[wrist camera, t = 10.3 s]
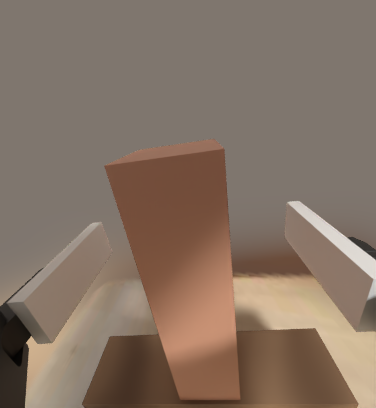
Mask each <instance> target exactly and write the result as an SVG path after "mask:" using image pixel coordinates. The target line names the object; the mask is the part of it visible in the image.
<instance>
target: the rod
mask: <svg viewBox="0 0 376 408" xmlns="http://www.w3.org/2000/svg"><path fill="white" fill-rule="evenodd" d="M105 169H106V172H107V176H108V179H109V182H110V185H111V188H112V191H113V194H114V197H115V200H116V203H117V206H118V210H119V212H120V216H121V219H122V221H123V225H124V228H125V231H126V234H127V237H128V240H129V243H130V247H131V250H132V253H133V256H134V259H135V262H136V265H137V268H138V271H139V274H140V277H141V281H142V284H143V287H144V290H145V293H146V296H147V299H148V302H149V305H150V308H151V311H152V315H153V318H154V321H155V324H156V327H157V330H158V333H159V336H160V339H161V342H162V345H163V348H164V352H165V355H166V358H167V361H168V364H169V367H170V370H171V373H172V376H173V379H174V382H175V385H176V389H177V392H178V395H179V398H180V400H240V385H239V370H238V354H237V339H236V323H235V308H234V292H233V277H232V262H231V246H230V230H229V215H228V199H227V183H226V169H225V154H224V148H223V147H222V146H221V145H220V144H219V143H218V142H217V141H216V140H215V139H210V140H203V141H196V142H189V143H183V144H176V145H169V146H162V147H156V148H149V149H142V150H138V151H136V152H133V153H131V154H129V155H127V156H125V157H122V158H120V159H118V160H116V161H114V162H112V163H109V164H107V165H105Z"/></svg>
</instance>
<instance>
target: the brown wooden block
mask: <svg viewBox="0 0 376 408" xmlns="http://www.w3.org/2000/svg"><path fill="white" fill-rule="evenodd" d="M236 339H237V354H238V370H239V385H240V400H180V398H179V395H178V392H177V389H176V385H175V382H174V379H173V376H172V373H171V370H170V367H169V364H168V361H167V358H166V355H165V352H164V348H163V345H162V342H161V339H160V336H159V335H137V336H112V337H110V338H109V340H108V342H107V345H106V347H105V350H104V352H103V355H102V357H101V359H100V362H99V364H98V367H97V369H96V372H95V374H94V376H93V379H92V381H91V384H90V386H89V388H88V391H87V393H86V396H85V398H84V401H83V403H82V405H83V406H84V407H85V408H357V406H358V402H357V401H356V399H355V397H354V395H353V394H352V392H351V390H350V388H349V387H348V385H347V383H346V381H345V380H344V378H343V376H342V374H341V373H340V371H339V369H338V367H337V366H336V364H335V362H334V360H333V359H332V357H331V355H330V353H329V352H328V350H327V348H326V346H325V345H324V343H323V341H322V339H321V338H320V336H319V334H318V332H317V331H316V329H315V328H313V329H288V330H263V331H238V332H236Z"/></svg>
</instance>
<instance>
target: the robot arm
mask: <svg viewBox="0 0 376 408" xmlns="http://www.w3.org/2000/svg"><path fill="white" fill-rule="evenodd" d="M284 237H285V238H286V240H287V241H288V242H289V244H290V245H291V247H292V248H293V249H294V251H295V252H296V253H297V255H298V256H299V257H300V258H301V259H302V261H303V262H304V264H305V265H306V266H307V268H308V269H309V270H310V272H311V273H312V274H313V276H314V277H315V278H316V280H317V281H318V282H319V284H320V285H321V286H322V287H323V289H324V290H325V291H326V293H327V294H328V295H329V297H330V298H331V299H332V301H333V302H334V303H335V305H336V306H337V307H338V309H339V310H340V311H341V313H342V314H343V315H344V317H345V318H346V319H347V320H348V322H349V323H350V324H351V326H352V327H353V328H354V330H355V331H356V332H366V331H376V250H375V249H374V248H372V247H371V246H370V245H368V244H367V243H365V242H363V241H361V240H358V239H356V238H354V237H348V238H346V237H345V236H344V235H343V234H341V233H340V232H338V231H337V230H336V229H335V228H333V227H332V226H331V225H330V224H328V223H327V222H326V221H324V220H323V219H322V218H320V217H319V216H318V215H317V214H315V213H314V212H313V211H311V210H310V209H309V208H307V207H306V206H305V205H303V204H302V203H301V202H300V201H293V202H287V205H286V220H285V232H284ZM111 254H112V250H111V247H110V244H109V242H108V239H107V236H106V234H105V231H104V228H103V226H102V223H101V222H98V223H91V224H90V225H89V226H88V227H87V228H86V229H85V230H84V231H83V232H82V233H81V234H80V235H78V236H77V237H76V238H75V239H74V240H73V241H72V242H71V243H70V244H69V245H68V246H67V247H66V248H65V249H64V250H62V251H61V252H60V253H59V254H58V255H57V256H56V257H55V258H54V259H53V260H52V261H51V262H50V263H49V264H48V265H46V266H45V267H44V268H42V269H41V270H39V271H38V272H37V273H36V274H35V275H34V276H33V277H32V279H30V280H29V281H27V283H25V285H24V286H22V287H21V288H20V289H19V290H18V291H17V292H16V293H14V294H13V295H12V296H11V297H10V298H9V299H8V300H7V301H6V302H5V303H4V304H3V305H2V306H0V408H25V396H26V381H27V367H28V352H29V348H28V345H27V344H26V342H27V341H28V339H29V338H30V337H31V336H32V337H33V338H34V340H35V341H36V342H37V343H38V344H45V343H53V341H54V340H55V338H56V337H57V335H58V334H59V332H60V331H61V329H62V328H63V326H64V325H65V323H66V322H67V320H68V319H69V317H70V316H71V314H72V312H73V311H74V310H75V308H76V307H77V305H78V303H79V302H80V301H81V299H82V298H83V296H84V294H85V293H86V292H87V290H88V289H89V287H90V285H91V284H92V283H93V281H94V280H95V278H96V276H97V275H98V273H99V272H100V270H101V269H102V267H103V266H104V264H105V263H106V261H107V260H108V258H109V257H110V255H111Z"/></svg>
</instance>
